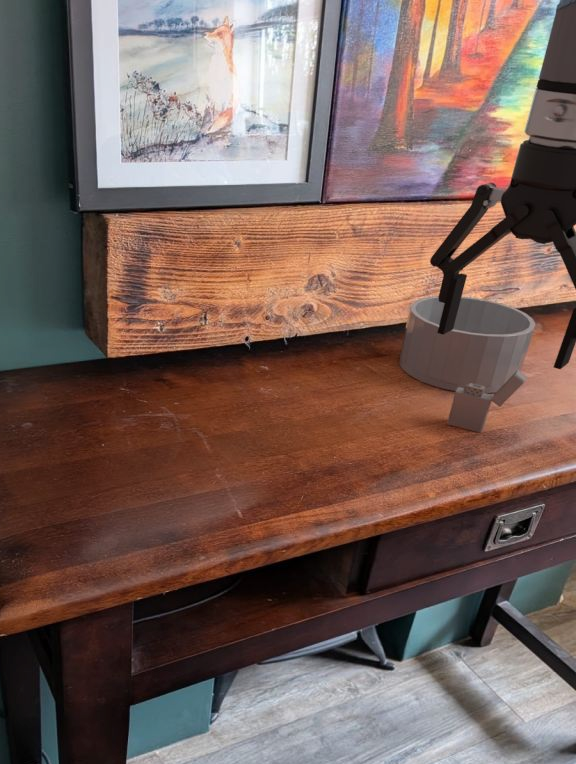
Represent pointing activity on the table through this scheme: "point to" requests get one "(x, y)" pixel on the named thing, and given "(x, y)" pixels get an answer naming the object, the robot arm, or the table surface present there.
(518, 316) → the canister
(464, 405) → the lighter
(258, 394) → the table surface
